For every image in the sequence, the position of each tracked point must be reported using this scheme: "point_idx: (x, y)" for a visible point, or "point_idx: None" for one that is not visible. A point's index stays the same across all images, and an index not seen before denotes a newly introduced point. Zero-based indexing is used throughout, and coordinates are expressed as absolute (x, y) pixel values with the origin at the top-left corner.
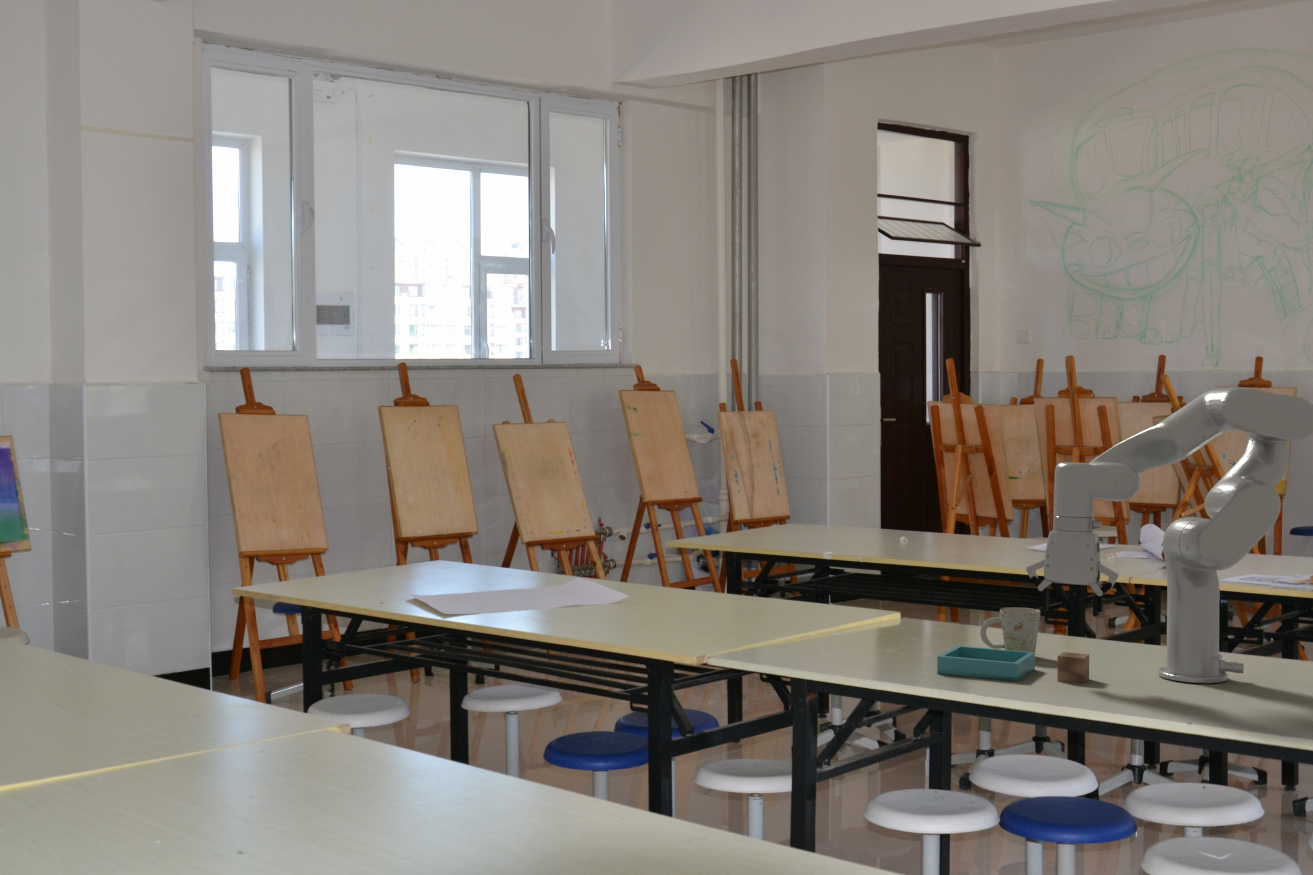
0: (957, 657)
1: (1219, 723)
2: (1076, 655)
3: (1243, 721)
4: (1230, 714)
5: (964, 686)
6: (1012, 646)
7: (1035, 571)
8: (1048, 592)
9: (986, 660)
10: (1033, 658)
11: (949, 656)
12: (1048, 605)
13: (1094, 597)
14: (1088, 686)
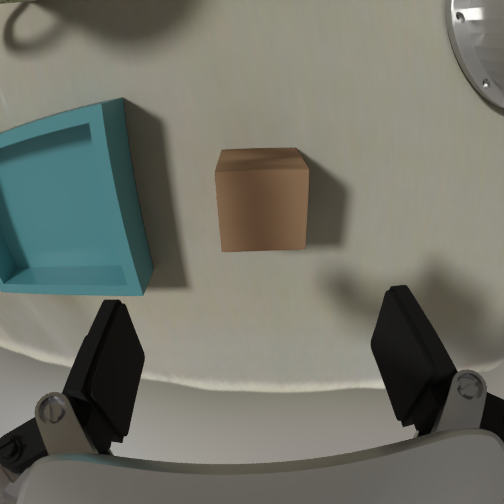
0: (24, 287)
1: (463, 357)
2: (273, 213)
3: (489, 337)
4: (491, 315)
5: None
6: (17, 1)
7: (9, 497)
8: (103, 399)
9: (74, 290)
10: (111, 120)
11: (11, 284)
12: (121, 328)
13: (401, 418)
14: (309, 239)
